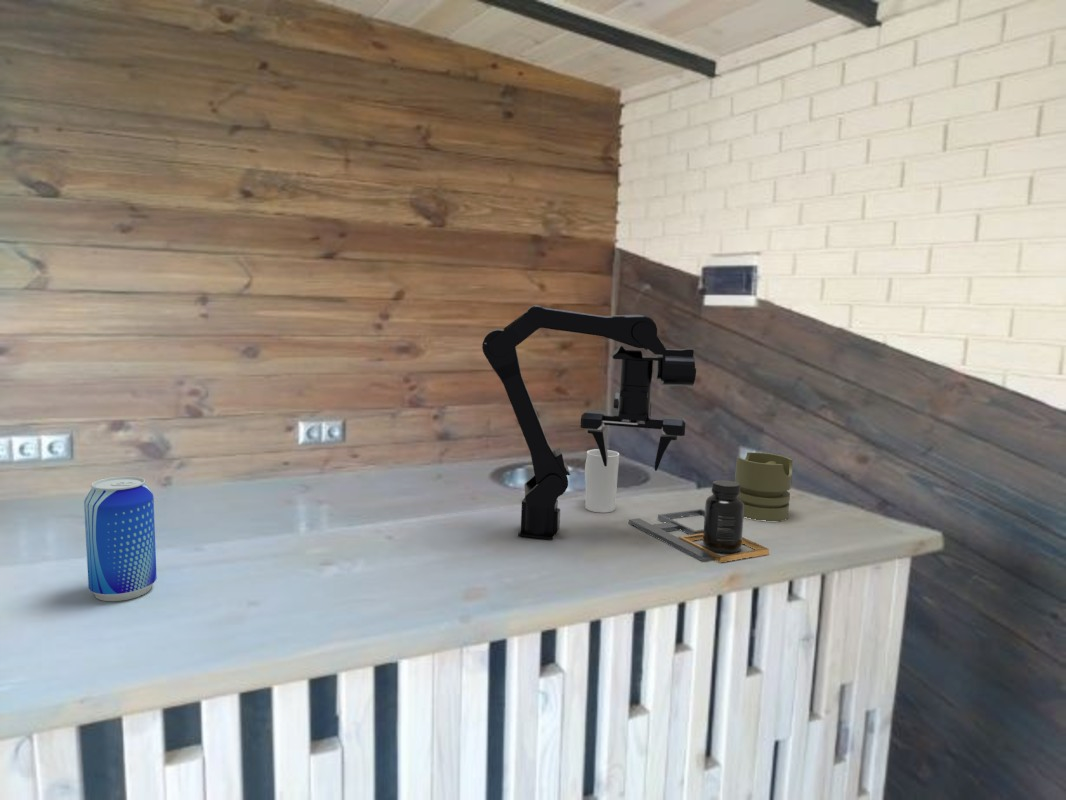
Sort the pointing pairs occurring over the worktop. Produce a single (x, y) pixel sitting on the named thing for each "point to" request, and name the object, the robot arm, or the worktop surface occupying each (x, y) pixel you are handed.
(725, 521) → the supplement bottle
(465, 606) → the worktop surface
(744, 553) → the silver gold metal frame
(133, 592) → the beer can
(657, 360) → the robot arm
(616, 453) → the mug
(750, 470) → the piston
